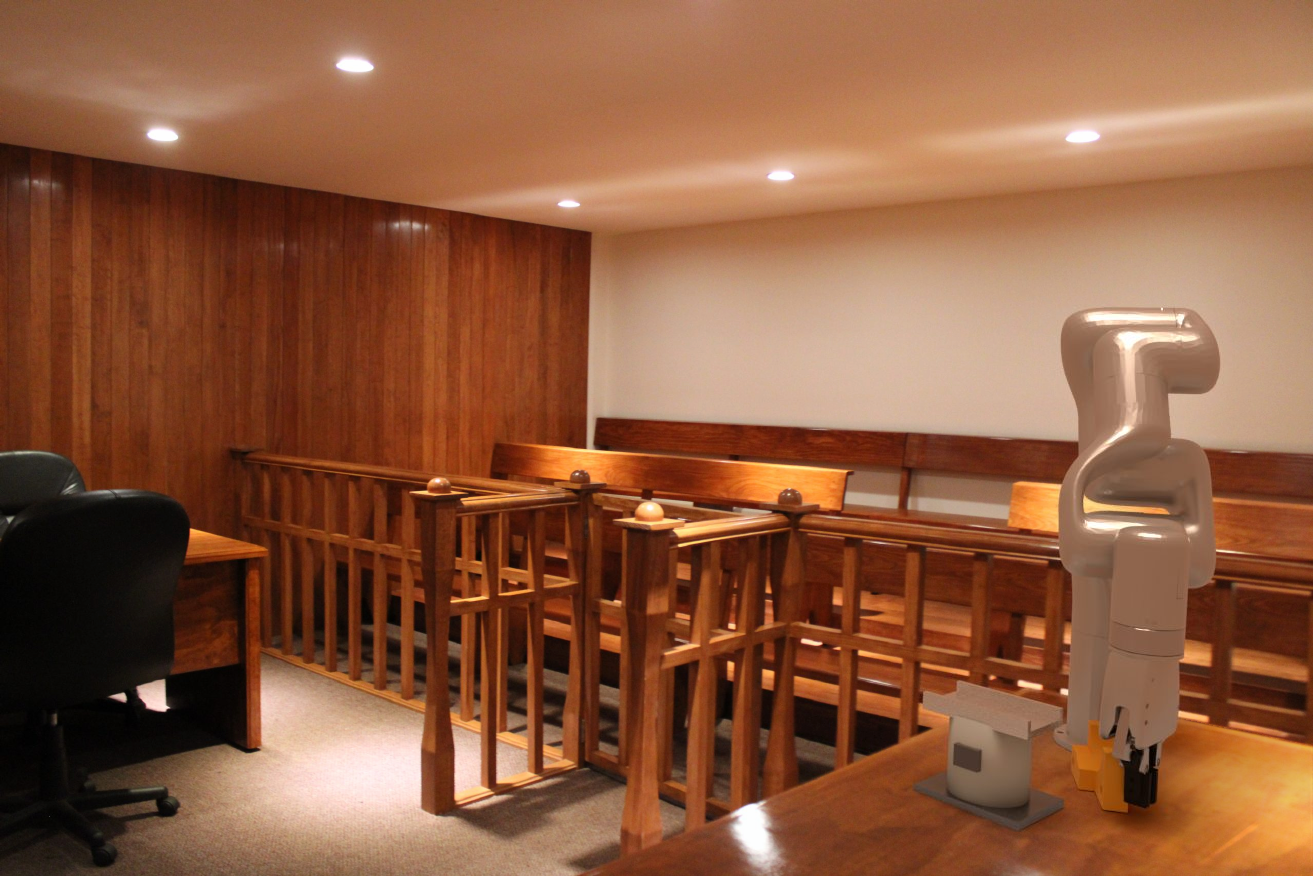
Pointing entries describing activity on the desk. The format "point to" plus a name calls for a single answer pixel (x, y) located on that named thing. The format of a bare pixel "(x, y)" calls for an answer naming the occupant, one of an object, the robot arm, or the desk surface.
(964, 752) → the cylinder with tray top
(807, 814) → the desk surface
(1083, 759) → the pipe clamp
